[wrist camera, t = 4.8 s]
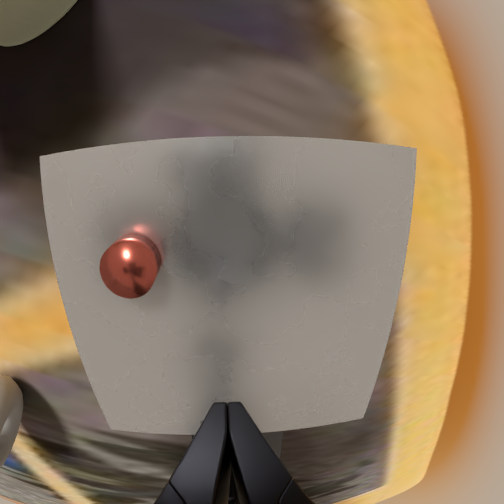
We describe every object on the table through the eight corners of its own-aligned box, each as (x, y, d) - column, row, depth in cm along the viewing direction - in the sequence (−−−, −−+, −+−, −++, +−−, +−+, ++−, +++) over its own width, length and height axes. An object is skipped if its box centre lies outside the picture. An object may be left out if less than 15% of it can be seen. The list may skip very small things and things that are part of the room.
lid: (347, 434, 17) (357, 459, 15) (127, 444, 16) (122, 470, 14) (403, 147, 11) (434, 150, 9) (52, 154, 10) (22, 159, 8)
